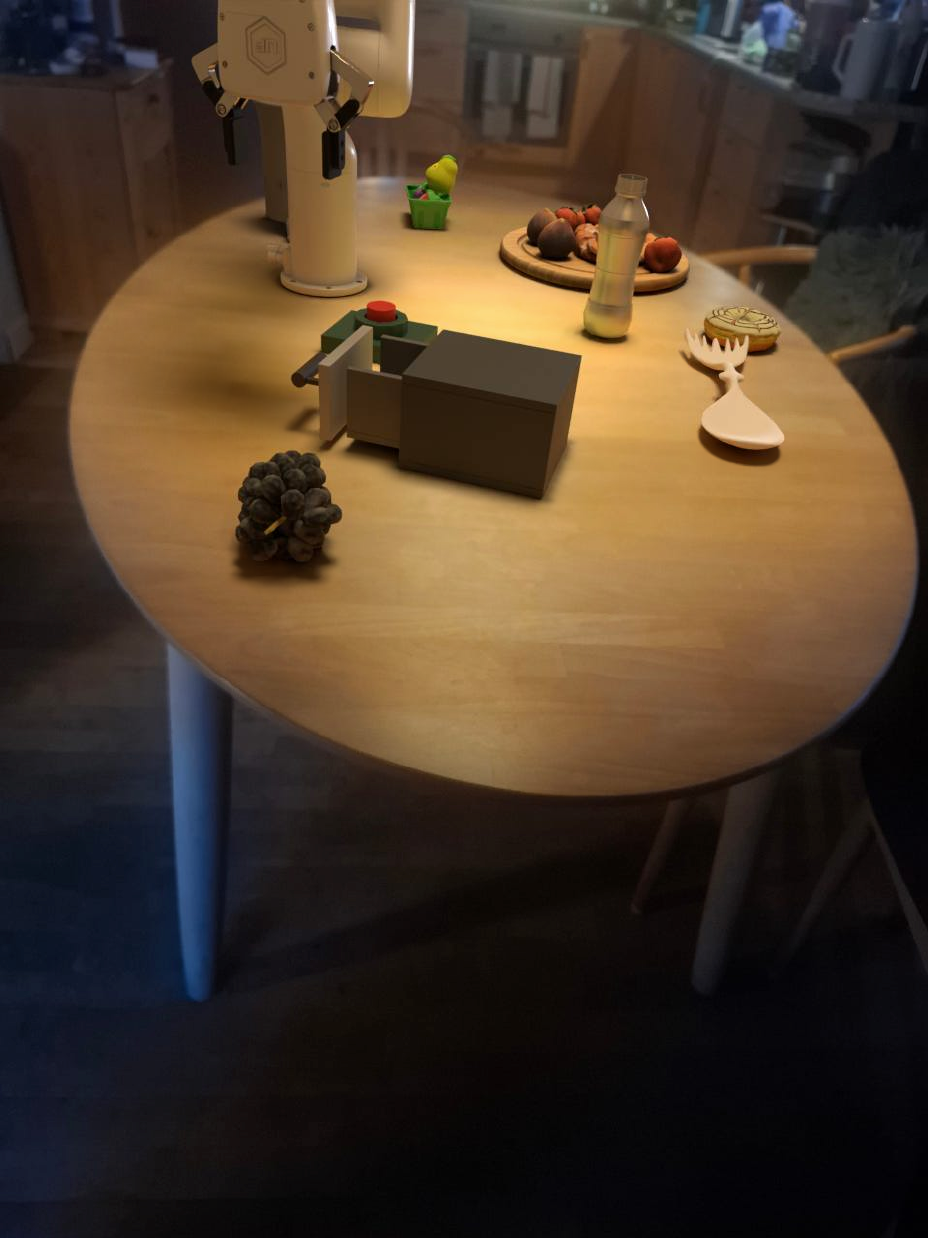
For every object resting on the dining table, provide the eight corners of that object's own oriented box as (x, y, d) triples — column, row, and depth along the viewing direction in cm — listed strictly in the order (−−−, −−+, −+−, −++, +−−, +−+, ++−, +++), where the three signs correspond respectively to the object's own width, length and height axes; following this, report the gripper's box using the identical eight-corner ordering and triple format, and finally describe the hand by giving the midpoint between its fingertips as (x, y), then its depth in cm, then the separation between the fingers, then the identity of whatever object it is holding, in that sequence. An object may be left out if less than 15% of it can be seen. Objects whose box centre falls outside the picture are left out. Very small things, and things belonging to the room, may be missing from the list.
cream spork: (743, 356, 117) (750, 332, 115) (786, 468, 92) (797, 439, 90) (677, 348, 118) (683, 323, 116) (703, 458, 93) (711, 428, 91)
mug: (333, 247, 141) (331, 68, 125) (244, 237, 141) (231, 57, 126) (354, 218, 156) (354, 54, 140) (273, 209, 156) (264, 45, 140)
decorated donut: (786, 341, 124) (795, 315, 121) (760, 361, 116) (768, 334, 114) (719, 321, 128) (726, 295, 125) (689, 339, 121) (696, 312, 118)
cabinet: (398, 467, 86) (401, 373, 80) (437, 415, 96) (442, 328, 89) (542, 498, 83) (557, 404, 77) (567, 442, 93) (582, 355, 87)
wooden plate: (727, 283, 143) (741, 230, 138) (582, 306, 128) (592, 248, 123) (601, 230, 163) (609, 183, 158) (462, 245, 148) (466, 193, 143)
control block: (320, 352, 107) (320, 320, 104) (351, 326, 114) (351, 295, 112) (412, 370, 105) (413, 338, 102) (437, 342, 112) (439, 312, 110)
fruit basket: (403, 212, 161) (406, 145, 154) (450, 215, 163) (455, 149, 155) (407, 229, 153) (410, 159, 145) (456, 232, 154) (462, 162, 147)
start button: (362, 321, 106) (362, 307, 105) (372, 312, 109) (372, 298, 108) (389, 326, 106) (390, 312, 105) (399, 317, 108) (400, 303, 107)
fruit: (260, 395, 75) (248, 477, 63) (350, 424, 78) (355, 509, 66) (235, 478, 80) (220, 569, 68) (321, 503, 83) (321, 595, 71)
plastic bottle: (627, 346, 117) (659, 186, 104) (577, 339, 117) (604, 178, 105) (629, 330, 122) (660, 175, 109) (582, 323, 122) (608, 168, 110)
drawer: (280, 430, 88) (276, 355, 83) (326, 387, 97) (324, 317, 92) (447, 466, 85) (453, 390, 80) (478, 418, 94) (485, 348, 89)
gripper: (159, -68, 71) (183, 164, 81) (356, -48, 68) (355, 189, 78) (205, -63, 77) (222, 152, 87) (388, -44, 74) (383, 176, 84)
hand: (285, 170), depth 83 cm, fingers open, 9 cm apart
